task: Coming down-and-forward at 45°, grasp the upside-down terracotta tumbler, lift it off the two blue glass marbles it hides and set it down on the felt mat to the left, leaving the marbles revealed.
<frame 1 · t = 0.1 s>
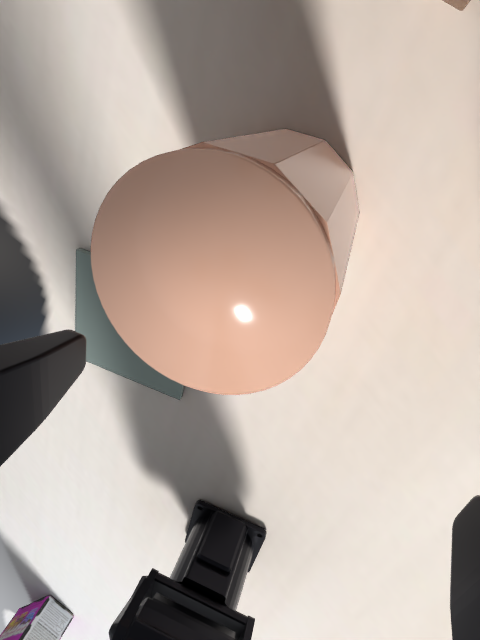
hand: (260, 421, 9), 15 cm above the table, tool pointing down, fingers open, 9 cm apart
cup: (283, 209, 21), on the table
candy bar box: (48, 609, 57), on the table
mat: (133, 326, 28), on the table
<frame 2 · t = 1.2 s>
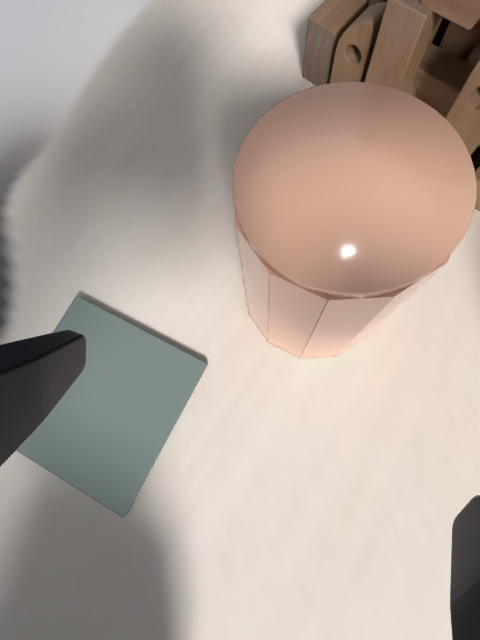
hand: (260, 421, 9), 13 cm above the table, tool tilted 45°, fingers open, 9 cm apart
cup: (312, 294, 23), on the table
mat: (101, 398, 23), on the table
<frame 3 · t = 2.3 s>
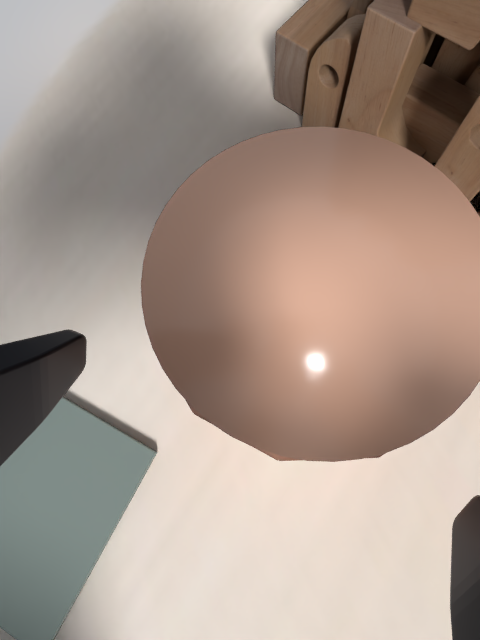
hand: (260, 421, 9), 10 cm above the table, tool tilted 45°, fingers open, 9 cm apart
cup: (286, 363, 19), on the table
mat: (25, 494, 18), on the table
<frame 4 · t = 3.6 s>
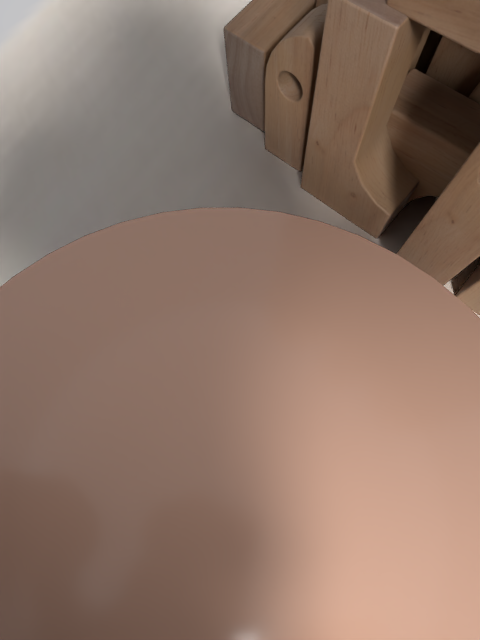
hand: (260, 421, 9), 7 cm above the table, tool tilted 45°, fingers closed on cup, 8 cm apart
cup: (248, 461, 15), on the table, touching gripper
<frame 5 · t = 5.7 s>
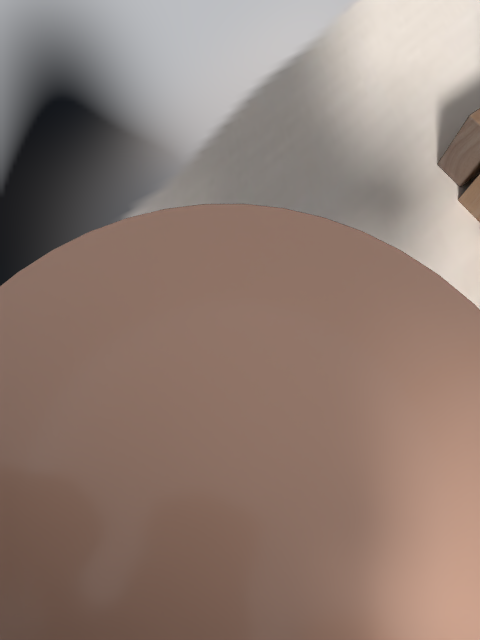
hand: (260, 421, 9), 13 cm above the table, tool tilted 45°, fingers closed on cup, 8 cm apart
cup: (249, 460, 15), point 7 cm above the table, touching gripper
when the fingers open (8 cm above the table, at t = 7.6 s): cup stays where it is, resting on mat.
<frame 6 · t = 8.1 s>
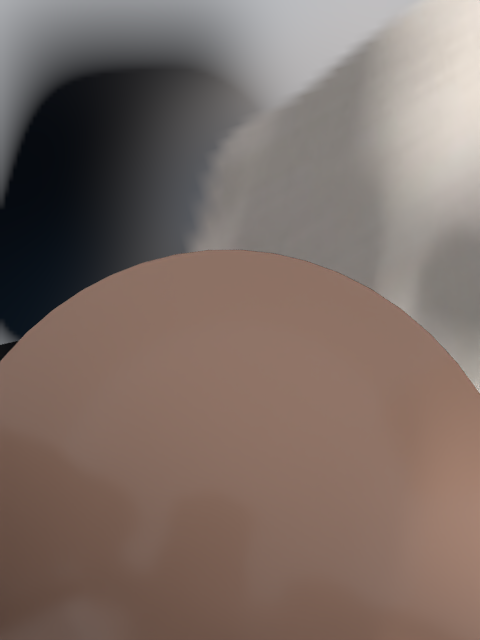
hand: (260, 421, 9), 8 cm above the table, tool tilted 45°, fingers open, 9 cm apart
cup: (249, 461, 16), resting on mat
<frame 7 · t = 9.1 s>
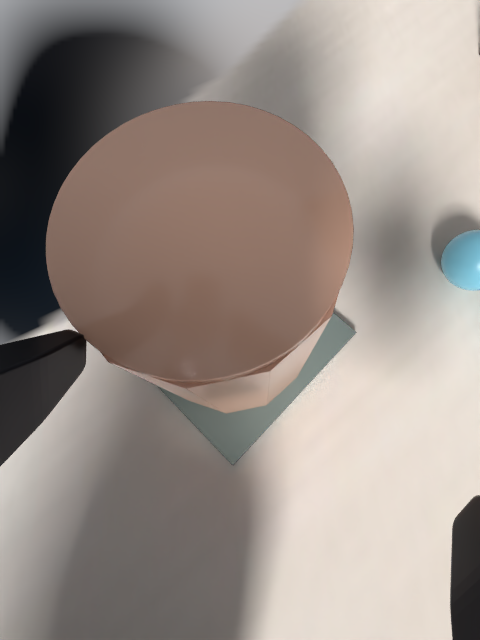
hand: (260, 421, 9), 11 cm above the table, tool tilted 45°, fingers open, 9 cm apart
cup: (231, 336, 20), resting on mat, touching gripper
marble 2: (460, 272, 21), on the table
mat: (232, 337, 21), on the table
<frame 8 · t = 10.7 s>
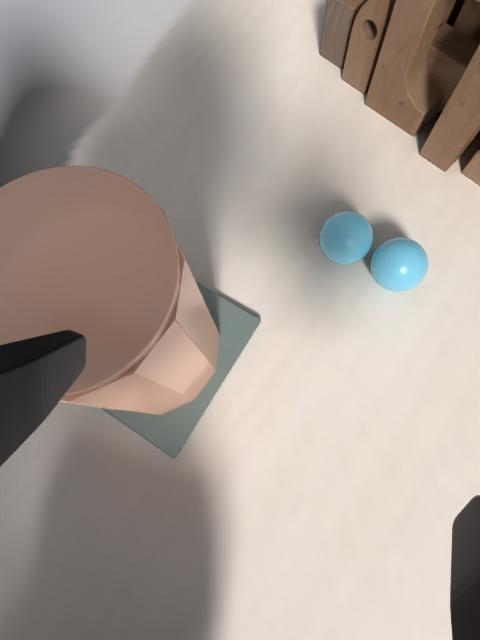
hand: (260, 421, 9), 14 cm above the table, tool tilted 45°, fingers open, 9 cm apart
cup: (154, 347, 23), resting on mat
marble 1: (390, 274, 24), on the table
marble 2: (341, 249, 24), on the table
mat: (155, 346, 23), on the table
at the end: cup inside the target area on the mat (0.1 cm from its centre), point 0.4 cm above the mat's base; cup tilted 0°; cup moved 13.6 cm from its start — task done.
